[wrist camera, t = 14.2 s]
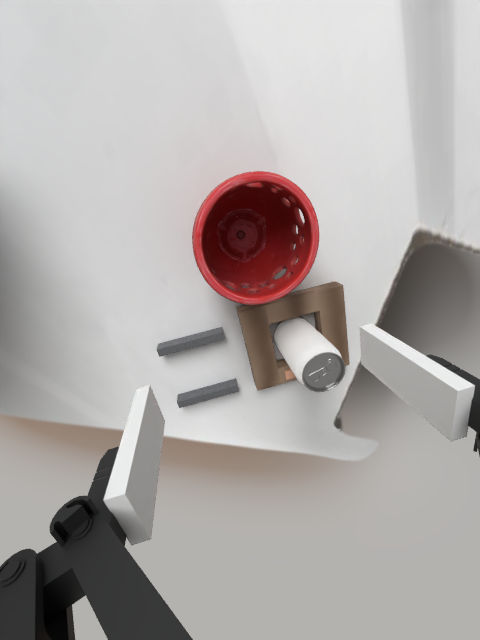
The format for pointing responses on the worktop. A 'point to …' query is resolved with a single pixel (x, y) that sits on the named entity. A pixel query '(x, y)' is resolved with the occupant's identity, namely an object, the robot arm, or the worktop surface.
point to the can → (309, 355)
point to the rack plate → (258, 317)
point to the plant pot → (255, 237)
